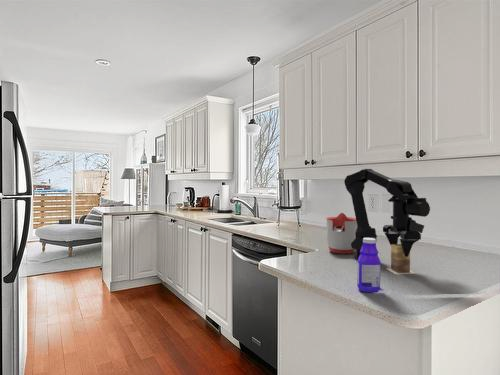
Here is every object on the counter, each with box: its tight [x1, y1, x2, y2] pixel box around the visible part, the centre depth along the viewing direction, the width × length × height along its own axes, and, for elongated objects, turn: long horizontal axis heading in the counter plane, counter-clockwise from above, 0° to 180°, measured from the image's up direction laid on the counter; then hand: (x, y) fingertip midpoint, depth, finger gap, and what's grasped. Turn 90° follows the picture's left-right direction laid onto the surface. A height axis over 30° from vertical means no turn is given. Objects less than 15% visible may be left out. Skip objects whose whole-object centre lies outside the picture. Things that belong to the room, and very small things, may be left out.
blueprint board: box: [385, 267, 416, 275], centre depth 127 cm, size 16×18×1 cm
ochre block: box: [390, 243, 411, 261], centre depth 129 cm, size 5×5×5 cm
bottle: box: [356, 238, 382, 293], centre depth 110 cm, size 7×6×17 cm
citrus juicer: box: [325, 212, 357, 255], centre depth 166 cm, size 16×17×20 cm
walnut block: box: [390, 256, 411, 273], centre depth 129 cm, size 5×5×5 cm
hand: (400, 253), depth 129 cm, fingers open, 9 cm apart
